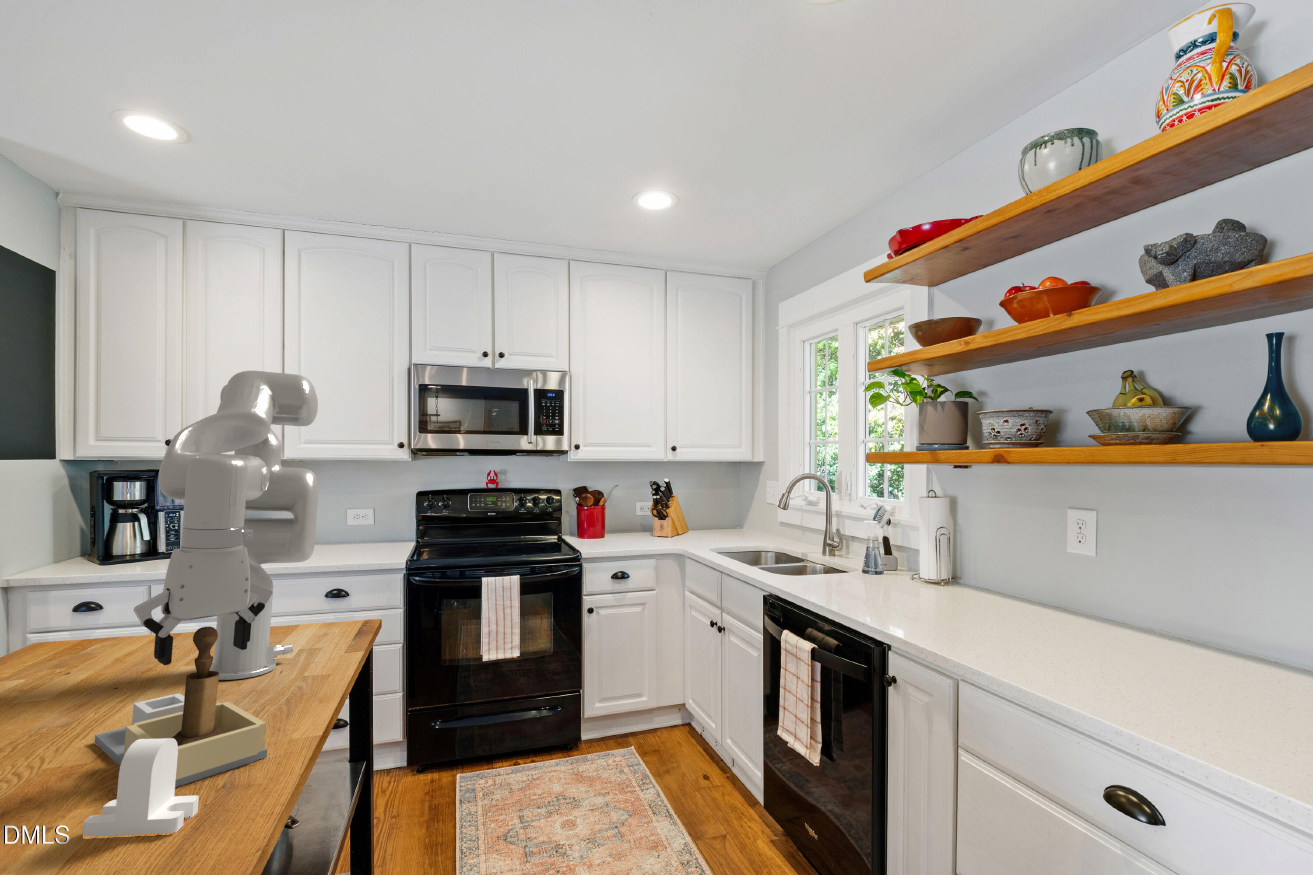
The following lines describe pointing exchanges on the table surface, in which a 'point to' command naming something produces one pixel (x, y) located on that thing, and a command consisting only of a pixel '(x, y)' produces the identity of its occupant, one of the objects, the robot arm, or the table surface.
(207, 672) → the brown pepper mill
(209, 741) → the socket board
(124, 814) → the cable organizer
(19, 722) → the table surface
